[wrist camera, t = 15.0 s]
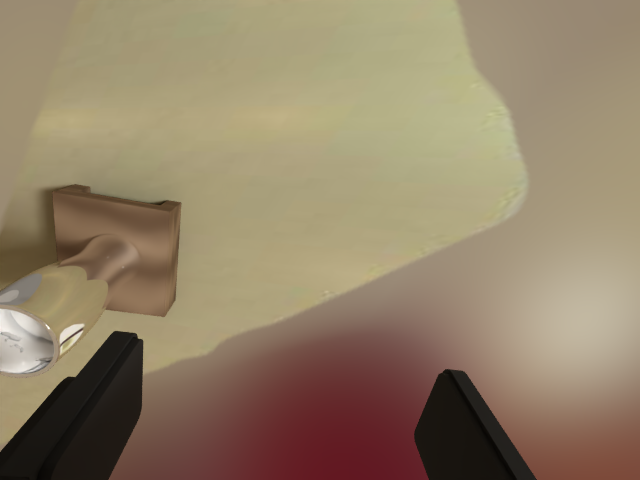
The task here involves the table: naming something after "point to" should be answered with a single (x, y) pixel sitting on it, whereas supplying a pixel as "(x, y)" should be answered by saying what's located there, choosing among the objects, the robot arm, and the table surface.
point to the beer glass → (61, 304)
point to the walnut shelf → (133, 225)
